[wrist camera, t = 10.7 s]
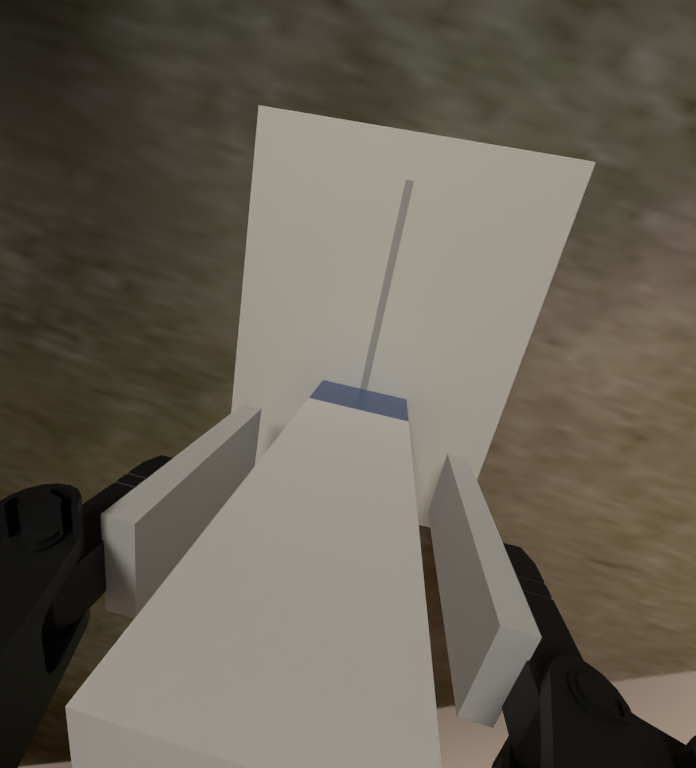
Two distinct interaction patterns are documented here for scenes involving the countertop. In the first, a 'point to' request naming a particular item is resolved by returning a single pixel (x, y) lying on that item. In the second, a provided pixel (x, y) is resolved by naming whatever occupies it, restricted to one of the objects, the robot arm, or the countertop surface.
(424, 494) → the slotted base plate
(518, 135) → the countertop surface
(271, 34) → the countertop surface
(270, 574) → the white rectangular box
